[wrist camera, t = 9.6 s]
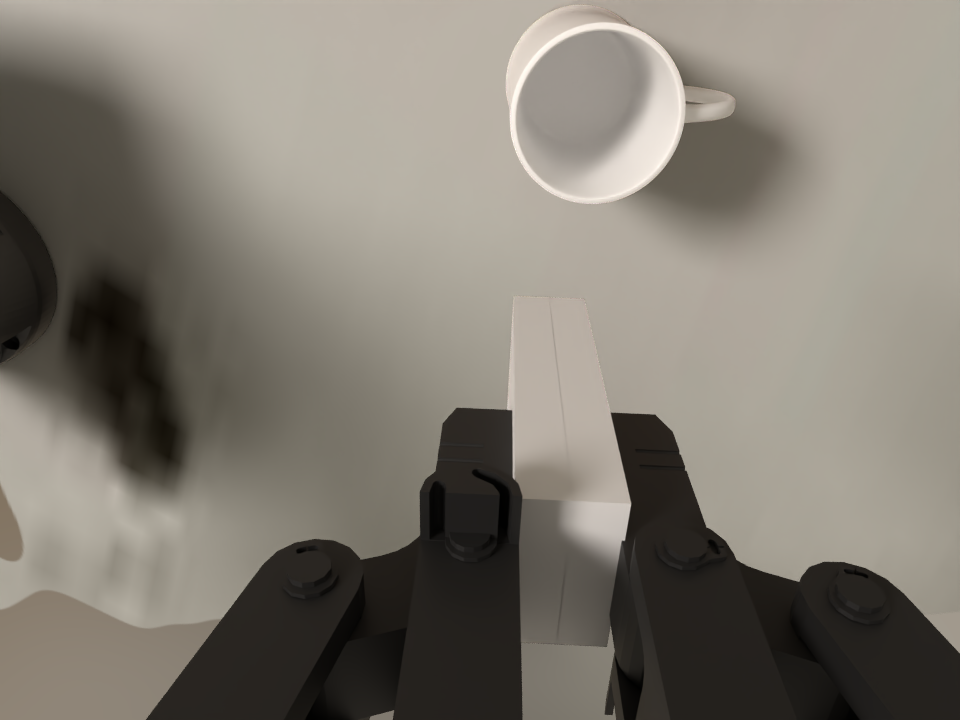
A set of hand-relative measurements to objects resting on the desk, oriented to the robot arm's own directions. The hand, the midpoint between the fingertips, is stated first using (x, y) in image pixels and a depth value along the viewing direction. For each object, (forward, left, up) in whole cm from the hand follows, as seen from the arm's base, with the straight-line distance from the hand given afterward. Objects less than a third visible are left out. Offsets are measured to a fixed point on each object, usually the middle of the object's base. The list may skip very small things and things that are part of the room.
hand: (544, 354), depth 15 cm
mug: (+5, +1, -33) cm, 33 cm away
